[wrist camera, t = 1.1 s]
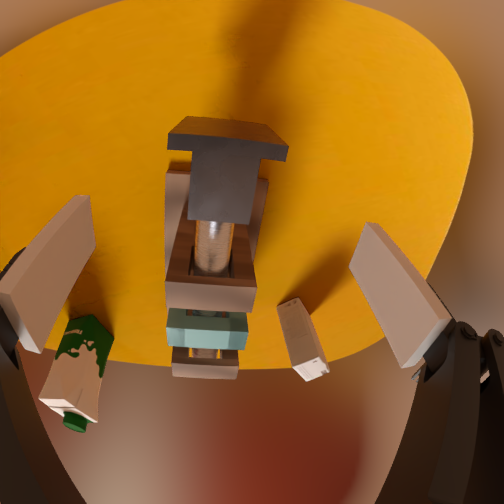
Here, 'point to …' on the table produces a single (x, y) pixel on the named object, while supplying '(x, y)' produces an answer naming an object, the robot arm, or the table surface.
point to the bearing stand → (207, 288)
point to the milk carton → (78, 372)
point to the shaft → (221, 187)
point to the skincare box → (302, 340)
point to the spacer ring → (207, 330)
